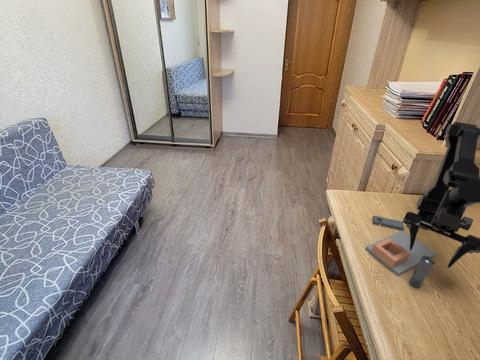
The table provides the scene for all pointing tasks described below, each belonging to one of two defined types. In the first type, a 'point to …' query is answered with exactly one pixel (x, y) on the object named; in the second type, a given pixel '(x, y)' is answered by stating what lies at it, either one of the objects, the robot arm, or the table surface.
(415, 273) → the peg
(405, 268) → the socket base
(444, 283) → the table surface
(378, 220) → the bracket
